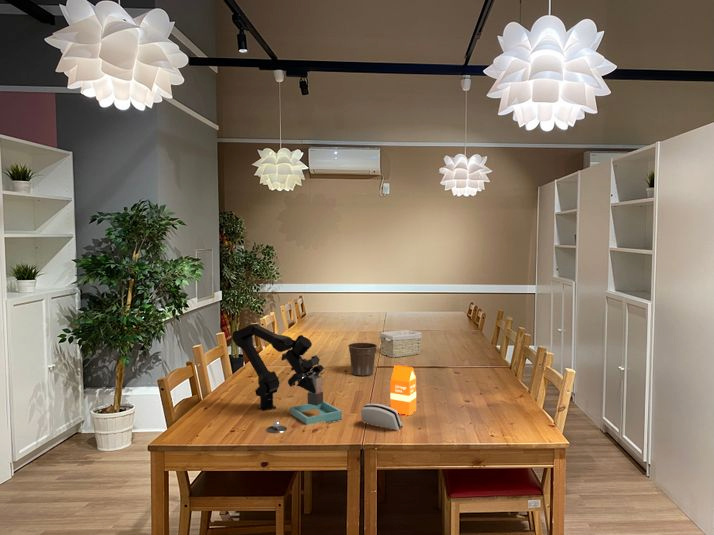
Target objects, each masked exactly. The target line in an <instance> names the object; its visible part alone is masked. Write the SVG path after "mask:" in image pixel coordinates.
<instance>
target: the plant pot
mask: <svg viewBox="0 0 714 535" xmlns="http://www.w3.org/2000/svg"><path fill="white" fill-rule="evenodd" d="M347 346H348V351H349V356H350V367H351V374H352V375H353V376H356V375H362V376H361V377H365V376H364V375H367V376H369V375H370V376H372V375H374V370H375V359H376V358H375V357H376V353H377V347H378V345H377V344H375V343H371V342H353V343H349V344H348V345H347Z"/></svg>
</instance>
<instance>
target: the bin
mask: <svg viewBox="0 0 714 535" xmlns="http://www.w3.org/2000/svg"><path fill="white" fill-rule="evenodd" d="M312 410H316V411H318V413H319V414H318V415H313V416H308V415H305V414H304V413H302V412H307V411H312ZM342 412H343V411H342V410H341V409H339V408H337V407H336V406H335V405H334V406H333V405H332V404H330V403H328V402H327V401H325V400H323V403H321V404H319V405H317V406H316V405H311V404H308V403H305V404H300V405H295V406H290V407H289V414H290V415H292V416H293V417H294V418H296V419H298V420H299V421H301V422H302V423H304V424H305V425H307V426H309V425H312V424H317V423H321V422H325V423H326V424H327V423H329V422H333V421H338V420H342V421H343V413H342ZM338 422H339V421H338ZM333 423H334V422H333ZM329 424H330V423H329Z"/></svg>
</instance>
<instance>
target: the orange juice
mask: <svg viewBox="0 0 714 535" xmlns="http://www.w3.org/2000/svg"><path fill="white" fill-rule="evenodd" d="M390 408H392V409H394V410H396V411H397V412H398V413H399V414H398V415H401V414H405V415H404V416H407V415H410V416H411V415H413V414H414V413H415V412H416V411H417V376H416V374H415V371H414V368H413V367H412V366H406V365H398V364H394V366H393V371H392V373H391V379H390ZM414 411H415V412H414ZM413 412H414V413H413Z"/></svg>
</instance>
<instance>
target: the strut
mask: <svg viewBox="0 0 714 535" xmlns="http://www.w3.org/2000/svg"><path fill="white" fill-rule="evenodd" d="M309 382H310V383H311V385H312V386H313V388H314V390H315V393H314V394H313V393H311V392H310V391H308V392H307V404H311V405H316V406H317V405H319V404H321V403H323V401H324V391H323V377H322V376H320V375H319V376H316V375H314V376H311V377H309Z"/></svg>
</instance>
